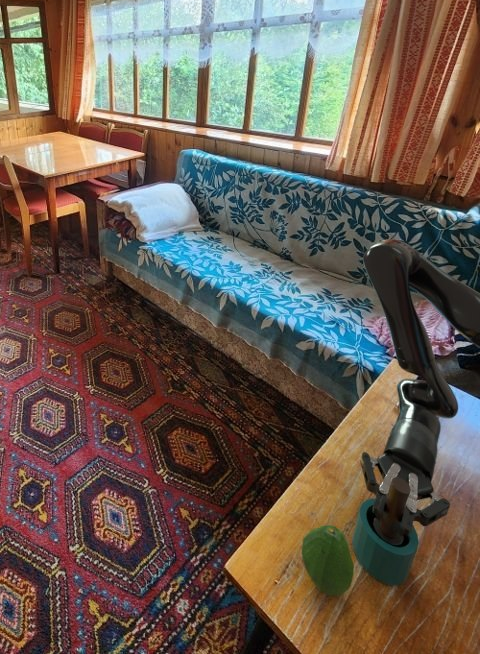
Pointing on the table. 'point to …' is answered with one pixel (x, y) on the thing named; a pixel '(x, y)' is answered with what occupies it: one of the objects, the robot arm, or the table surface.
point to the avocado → (328, 560)
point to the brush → (393, 513)
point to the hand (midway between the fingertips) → (390, 524)
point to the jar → (382, 549)
